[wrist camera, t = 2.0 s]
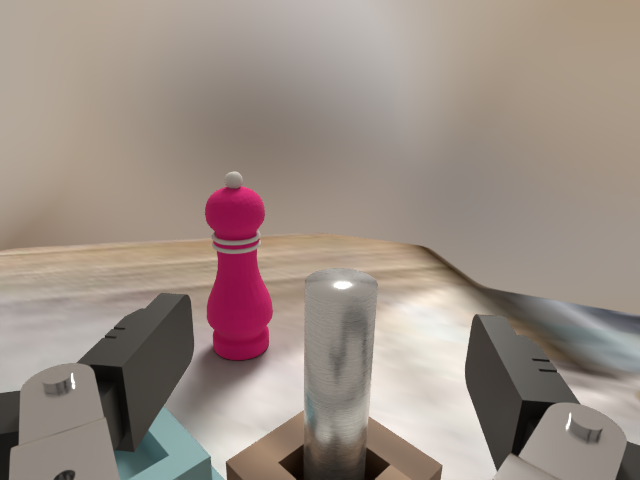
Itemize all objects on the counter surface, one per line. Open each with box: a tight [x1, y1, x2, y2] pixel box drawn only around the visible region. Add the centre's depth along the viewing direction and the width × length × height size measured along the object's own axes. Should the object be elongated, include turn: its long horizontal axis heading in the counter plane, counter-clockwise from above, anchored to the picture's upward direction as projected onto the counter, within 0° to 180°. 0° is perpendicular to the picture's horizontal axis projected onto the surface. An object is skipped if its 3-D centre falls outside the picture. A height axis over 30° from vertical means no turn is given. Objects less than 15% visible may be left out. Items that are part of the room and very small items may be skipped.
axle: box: [304, 268, 378, 480], centre depth 27 cm, size 4×4×18 cm
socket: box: [114, 406, 224, 480], centre depth 31 cm, size 12×12×4 cm
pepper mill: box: [205, 172, 273, 360], centre depth 47 cm, size 7×7×20 cm
